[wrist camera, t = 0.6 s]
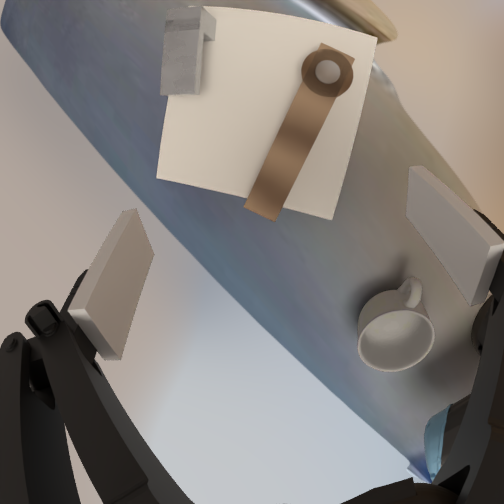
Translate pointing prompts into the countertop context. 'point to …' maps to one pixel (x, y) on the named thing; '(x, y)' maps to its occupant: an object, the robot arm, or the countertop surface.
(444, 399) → the countertop surface
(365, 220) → the countertop surface
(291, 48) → the base board
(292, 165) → the latch
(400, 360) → the teacup
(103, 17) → the countertop surface
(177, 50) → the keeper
